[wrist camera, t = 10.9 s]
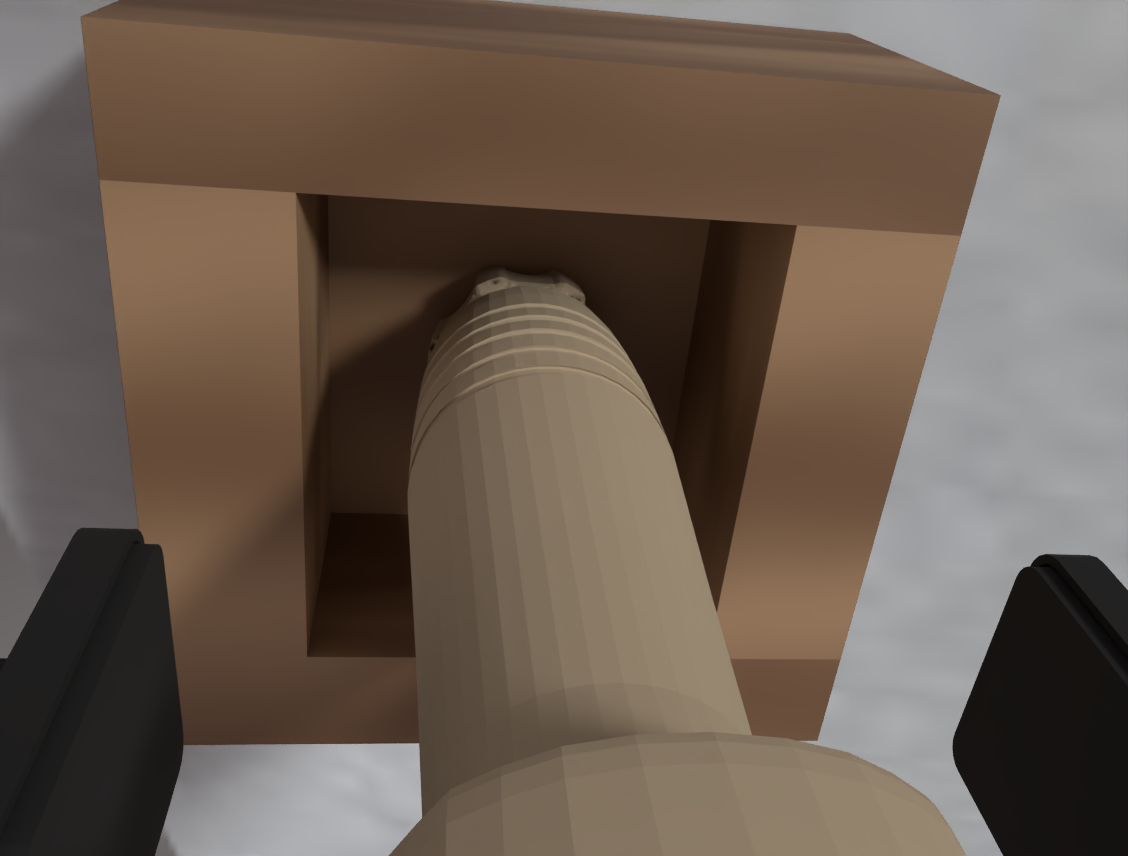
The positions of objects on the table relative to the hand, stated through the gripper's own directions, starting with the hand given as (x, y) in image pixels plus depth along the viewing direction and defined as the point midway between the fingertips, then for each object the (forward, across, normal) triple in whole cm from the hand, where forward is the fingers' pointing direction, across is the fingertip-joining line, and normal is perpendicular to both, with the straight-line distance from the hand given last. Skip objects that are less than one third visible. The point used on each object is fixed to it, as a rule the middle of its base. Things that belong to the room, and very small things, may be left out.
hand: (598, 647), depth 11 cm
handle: (+10, 0, +1) cm, 10 cm away
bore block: (+11, 0, +1) cm, 11 cm away
